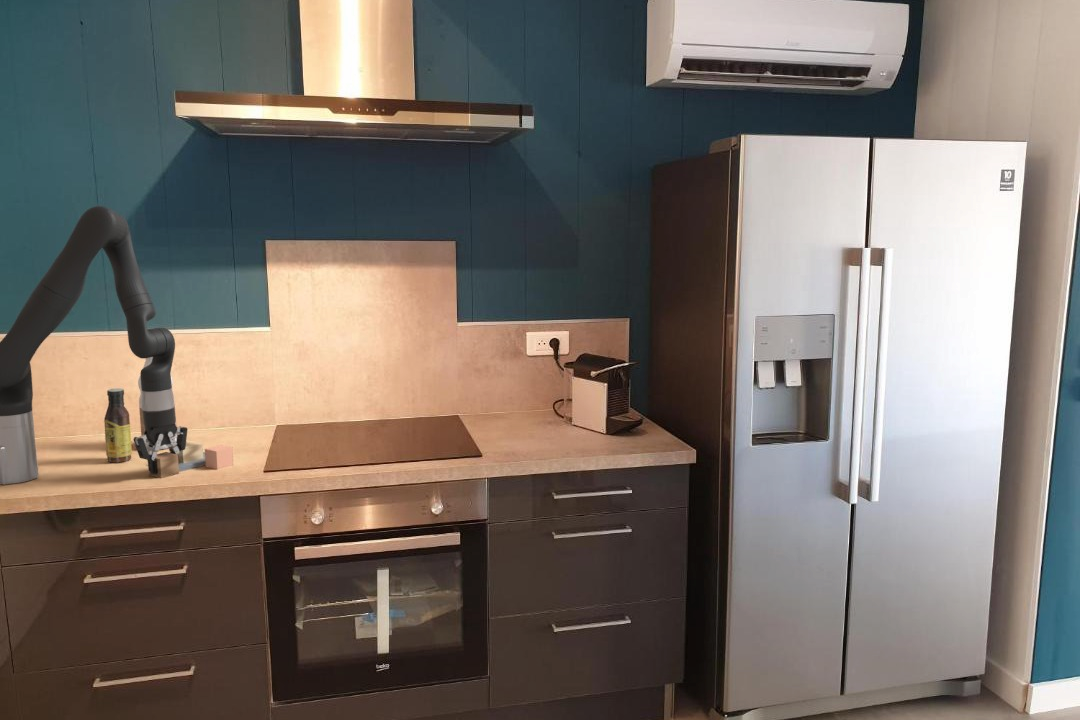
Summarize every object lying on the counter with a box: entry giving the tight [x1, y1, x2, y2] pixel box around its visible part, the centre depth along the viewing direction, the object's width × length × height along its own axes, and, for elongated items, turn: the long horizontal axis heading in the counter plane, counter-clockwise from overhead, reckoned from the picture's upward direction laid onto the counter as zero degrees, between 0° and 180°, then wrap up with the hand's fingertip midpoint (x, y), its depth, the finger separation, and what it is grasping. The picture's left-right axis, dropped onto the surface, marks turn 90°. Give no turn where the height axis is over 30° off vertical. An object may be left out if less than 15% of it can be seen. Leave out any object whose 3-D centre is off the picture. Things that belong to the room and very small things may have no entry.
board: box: [179, 451, 206, 473], centre depth 226 cm, size 14×12×1 cm
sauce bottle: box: [104, 387, 133, 464], centre depth 227 cm, size 7×6×20 cm
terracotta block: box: [204, 444, 234, 471], centre depth 223 cm, size 5×5×5 cm
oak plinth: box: [169, 440, 204, 463], centre depth 226 cm, size 6×6×4 cm
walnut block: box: [149, 451, 180, 479], centre depth 215 cm, size 5×5×5 cm
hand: (164, 470), depth 215 cm, fingers closed on walnut block, 5 cm apart
